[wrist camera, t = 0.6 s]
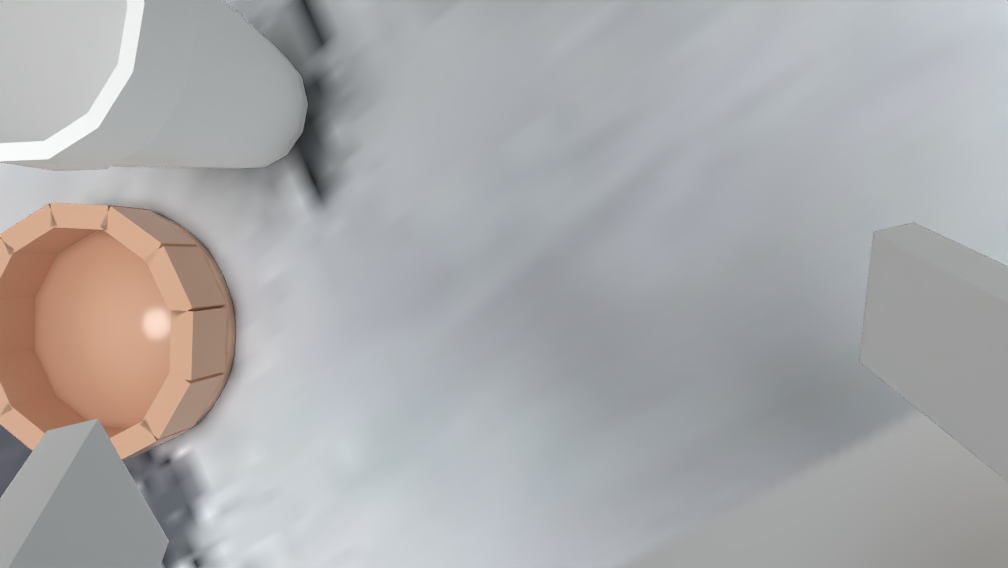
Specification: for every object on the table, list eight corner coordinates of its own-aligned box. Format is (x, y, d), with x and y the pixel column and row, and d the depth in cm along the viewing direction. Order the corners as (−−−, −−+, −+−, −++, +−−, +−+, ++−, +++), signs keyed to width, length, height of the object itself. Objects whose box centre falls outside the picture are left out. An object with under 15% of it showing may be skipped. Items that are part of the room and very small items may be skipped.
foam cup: (147, 152, 35) (-135, 92, 22) (210, -12, 34) (-48, -175, 21) (293, 227, 33) (81, 208, 21) (365, 58, 32) (187, -73, 20)
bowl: (31, 204, 37) (-29, 199, 33) (239, 213, 34) (196, 209, 31) (28, 433, 37) (-32, 450, 34) (231, 459, 35) (188, 480, 31)
